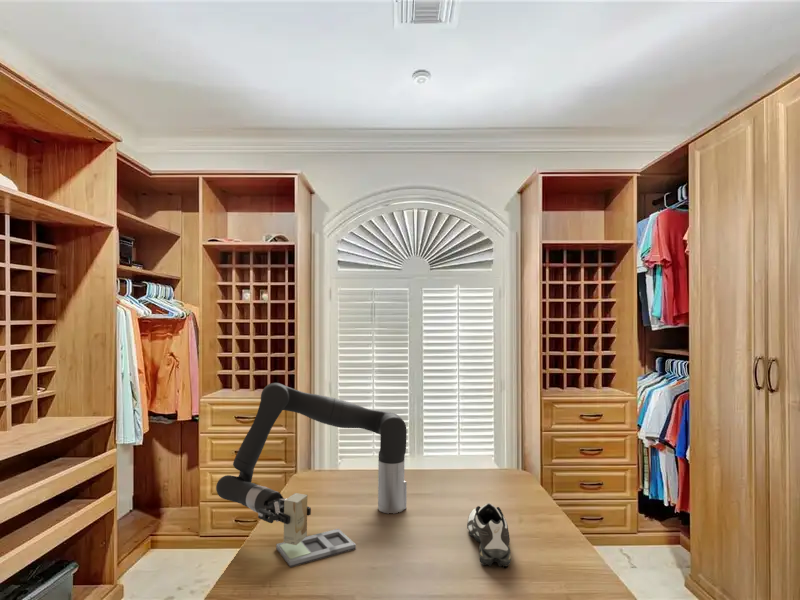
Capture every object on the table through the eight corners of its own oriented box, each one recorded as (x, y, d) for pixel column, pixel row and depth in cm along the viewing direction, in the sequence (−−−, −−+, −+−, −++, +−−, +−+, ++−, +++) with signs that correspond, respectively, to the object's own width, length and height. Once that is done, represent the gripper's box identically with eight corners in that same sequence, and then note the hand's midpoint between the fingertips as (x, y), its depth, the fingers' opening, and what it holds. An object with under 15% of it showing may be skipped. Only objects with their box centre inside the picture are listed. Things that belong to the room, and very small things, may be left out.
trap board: (338, 533, 158) (338, 527, 158) (355, 549, 148) (355, 543, 148) (276, 549, 148) (276, 543, 148) (290, 567, 138) (290, 561, 138)
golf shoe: (496, 523, 167) (496, 480, 167) (525, 571, 137) (525, 519, 137) (461, 524, 166) (462, 481, 166) (483, 572, 136) (483, 520, 136)
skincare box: (296, 546, 141) (296, 503, 140) (282, 543, 142) (283, 500, 142) (307, 535, 147) (308, 494, 147) (294, 533, 148) (295, 492, 148)
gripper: (244, 495, 148) (279, 510, 138) (283, 482, 159) (318, 495, 149) (243, 520, 148) (279, 538, 138) (282, 505, 159) (318, 520, 149)
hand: (299, 516), depth 143 cm, fingers closed on skincare box, 7 cm apart
